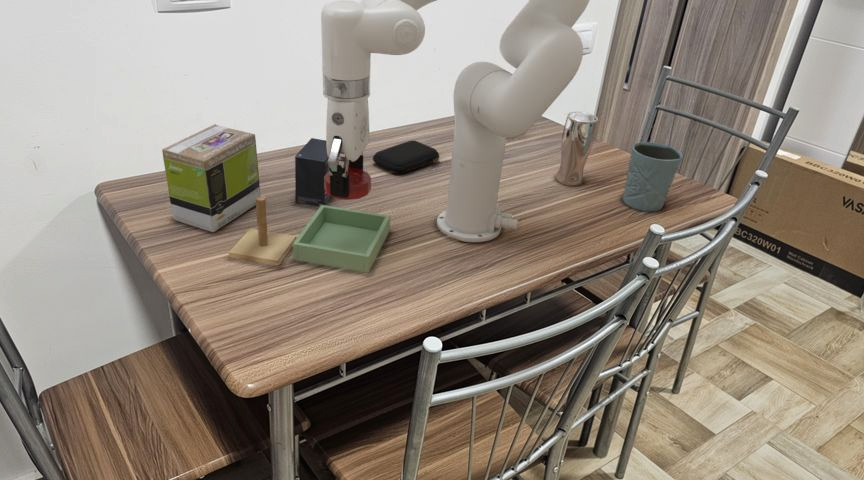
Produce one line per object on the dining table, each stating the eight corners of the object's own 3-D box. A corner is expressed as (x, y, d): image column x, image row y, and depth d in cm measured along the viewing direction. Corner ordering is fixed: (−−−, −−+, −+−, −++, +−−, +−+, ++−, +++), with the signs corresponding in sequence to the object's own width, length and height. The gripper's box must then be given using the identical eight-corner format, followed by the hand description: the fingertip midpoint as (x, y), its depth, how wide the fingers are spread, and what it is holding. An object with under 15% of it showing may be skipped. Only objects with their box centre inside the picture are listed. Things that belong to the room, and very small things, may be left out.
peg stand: (296, 243, 125) (295, 191, 119) (278, 268, 118) (275, 213, 112) (250, 235, 126) (246, 183, 121) (229, 259, 119) (224, 205, 113)
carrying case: (402, 179, 151) (445, 162, 160) (403, 166, 149) (446, 150, 158) (368, 164, 157) (412, 148, 166) (369, 151, 155) (413, 136, 164)
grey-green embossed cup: (610, 200, 148) (624, 148, 142) (632, 187, 155) (646, 137, 148) (654, 217, 143) (670, 164, 136) (675, 203, 149) (691, 151, 143)
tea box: (221, 191, 141) (215, 122, 133) (262, 203, 137) (258, 133, 129) (170, 220, 129) (160, 146, 121) (213, 234, 126) (205, 159, 118)
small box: (325, 209, 137) (325, 160, 131) (294, 205, 138) (292, 156, 132) (340, 187, 145) (340, 141, 140) (310, 183, 146) (310, 136, 141)
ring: (375, 183, 121) (375, 170, 120) (363, 202, 115) (363, 189, 114) (333, 177, 123) (332, 165, 121) (319, 196, 116) (318, 183, 115)
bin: (389, 232, 130) (390, 215, 128) (368, 275, 118) (368, 256, 116) (321, 221, 132) (321, 204, 130) (293, 261, 120) (292, 243, 118)
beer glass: (551, 182, 154) (563, 118, 146) (557, 171, 160) (569, 109, 152) (581, 189, 152) (596, 124, 144) (587, 177, 158) (601, 114, 150)
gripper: (353, 105, 101) (354, 211, 111) (382, 72, 115) (380, 168, 125) (305, 100, 102) (309, 204, 112) (340, 67, 116) (341, 163, 126)
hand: (347, 185), depth 118 cm, fingers closed on ring, 7 cm apart
